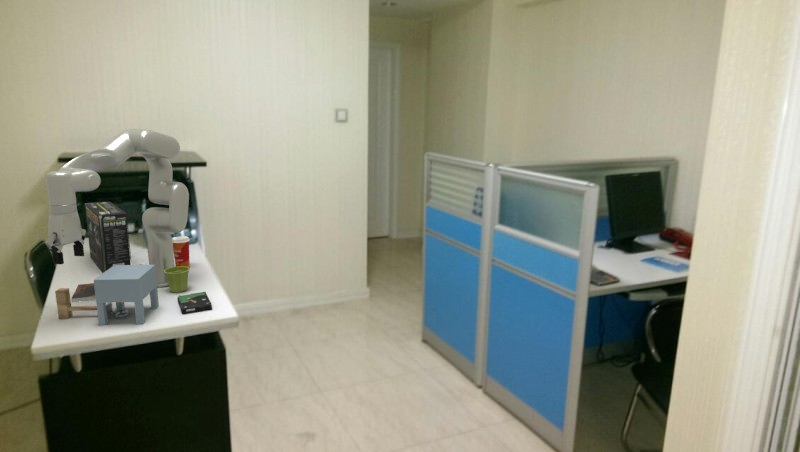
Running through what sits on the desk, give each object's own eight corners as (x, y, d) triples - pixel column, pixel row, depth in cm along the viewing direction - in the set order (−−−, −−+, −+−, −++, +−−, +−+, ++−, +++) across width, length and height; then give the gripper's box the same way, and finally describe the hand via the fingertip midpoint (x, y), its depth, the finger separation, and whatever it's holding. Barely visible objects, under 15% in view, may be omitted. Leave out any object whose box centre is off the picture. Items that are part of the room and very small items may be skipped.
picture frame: (72, 304, 193) (136, 297, 202) (71, 298, 193) (136, 291, 201) (79, 289, 208) (139, 283, 217) (78, 284, 208) (138, 278, 216)
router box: (133, 272, 229) (127, 212, 223) (105, 277, 222) (98, 215, 216) (115, 253, 256) (109, 200, 250) (89, 257, 249) (83, 202, 243)
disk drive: (212, 311, 189) (205, 297, 202) (212, 304, 189) (205, 291, 201) (182, 316, 184) (177, 302, 197) (181, 309, 184) (176, 295, 196)
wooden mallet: (67, 312, 184) (63, 285, 182) (112, 311, 186) (109, 285, 183) (54, 321, 176) (51, 293, 174) (102, 320, 178) (99, 292, 176)
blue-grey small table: (116, 307, 189) (112, 265, 186) (158, 306, 191) (155, 264, 187) (96, 325, 174) (91, 279, 170) (142, 324, 176) (138, 279, 172)
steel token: (116, 313, 184) (116, 309, 184) (131, 313, 185) (131, 309, 185) (110, 319, 180) (110, 315, 179) (126, 319, 180) (125, 314, 180)
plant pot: (164, 295, 202) (162, 274, 200) (167, 287, 211) (166, 266, 209) (189, 293, 205) (188, 272, 203) (192, 285, 213) (190, 265, 211)
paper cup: (170, 267, 236) (168, 237, 233) (187, 264, 241) (185, 234, 238) (177, 271, 231) (175, 241, 228) (194, 268, 236) (192, 238, 233)
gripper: (71, 204, 178) (76, 252, 182) (32, 213, 161) (38, 266, 165) (91, 205, 178) (96, 253, 181) (55, 214, 161) (61, 267, 164)
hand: (69, 259), depth 173 cm, fingers open, 9 cm apart
